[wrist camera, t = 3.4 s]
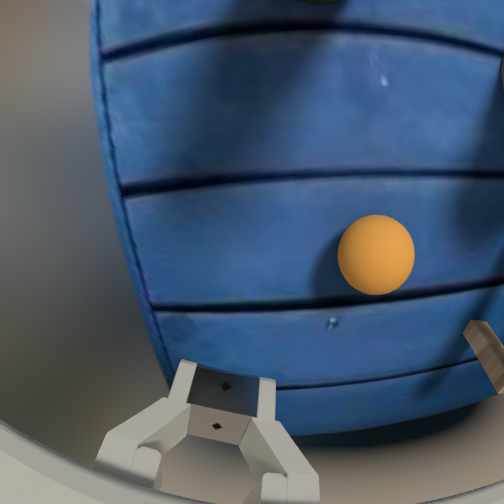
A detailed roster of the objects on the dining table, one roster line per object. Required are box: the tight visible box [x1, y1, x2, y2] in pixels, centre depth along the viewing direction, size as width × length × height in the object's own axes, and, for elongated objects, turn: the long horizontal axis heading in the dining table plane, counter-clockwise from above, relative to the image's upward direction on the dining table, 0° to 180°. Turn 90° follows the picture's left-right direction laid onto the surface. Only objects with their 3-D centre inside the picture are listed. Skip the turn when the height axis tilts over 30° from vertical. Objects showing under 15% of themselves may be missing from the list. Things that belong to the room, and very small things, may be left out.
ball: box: [338, 215, 415, 295], centre depth 22 cm, size 6×6×6 cm
